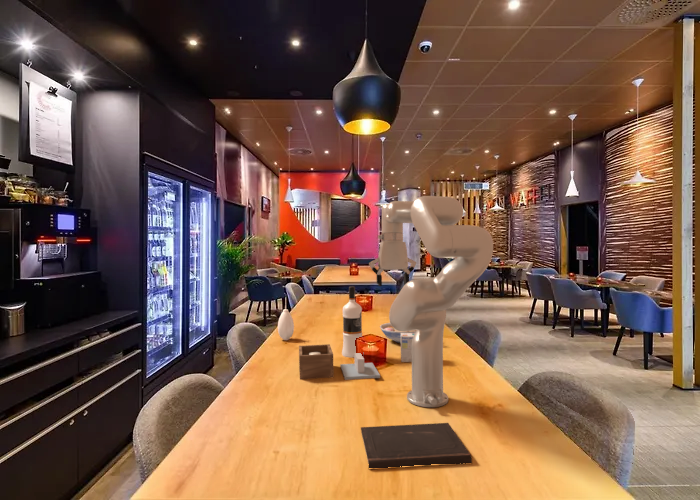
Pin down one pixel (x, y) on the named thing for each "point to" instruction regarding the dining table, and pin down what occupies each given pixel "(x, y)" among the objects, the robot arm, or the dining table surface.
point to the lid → (359, 369)
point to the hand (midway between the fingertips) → (392, 285)
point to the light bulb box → (406, 347)
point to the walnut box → (315, 361)
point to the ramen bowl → (393, 332)
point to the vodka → (351, 324)
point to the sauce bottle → (285, 325)
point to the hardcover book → (413, 445)
